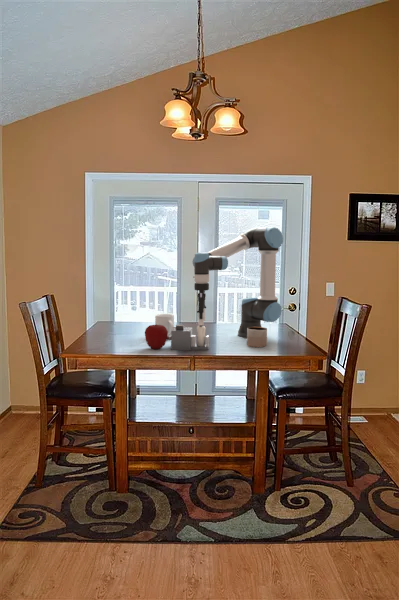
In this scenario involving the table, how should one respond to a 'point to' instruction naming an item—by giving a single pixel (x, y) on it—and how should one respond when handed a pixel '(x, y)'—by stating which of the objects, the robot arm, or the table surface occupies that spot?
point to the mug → (165, 321)
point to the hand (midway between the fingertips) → (201, 322)
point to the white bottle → (200, 335)
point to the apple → (156, 336)
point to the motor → (185, 339)
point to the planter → (256, 336)
